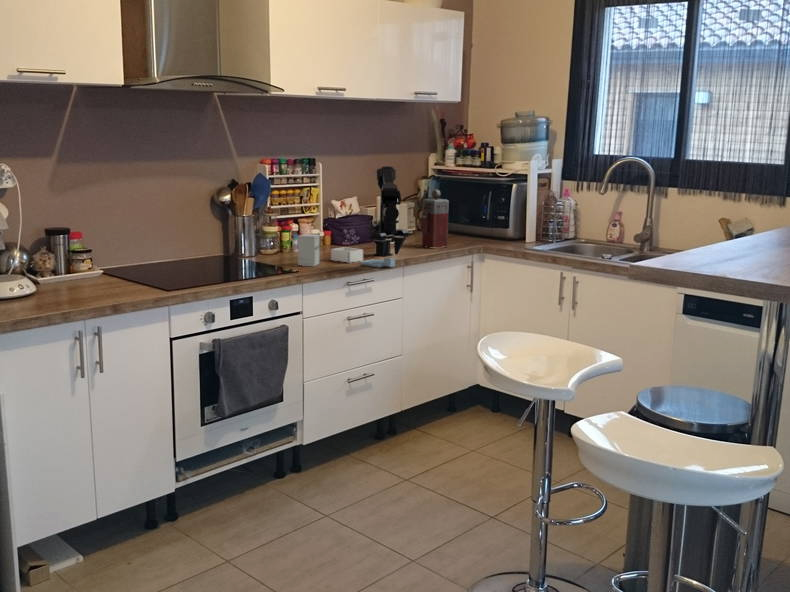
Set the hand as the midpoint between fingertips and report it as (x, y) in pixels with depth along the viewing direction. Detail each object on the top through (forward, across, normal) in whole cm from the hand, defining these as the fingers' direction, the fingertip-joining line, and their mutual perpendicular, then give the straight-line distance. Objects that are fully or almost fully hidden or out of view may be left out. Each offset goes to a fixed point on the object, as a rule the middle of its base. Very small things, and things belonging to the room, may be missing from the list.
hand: (389, 255), depth 331 cm
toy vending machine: (+5, -59, -22) cm, 63 cm away
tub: (+5, 0, -24) cm, 25 cm away
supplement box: (+5, +19, -28) cm, 34 cm away
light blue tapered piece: (+5, 0, -5) cm, 7 cm away
